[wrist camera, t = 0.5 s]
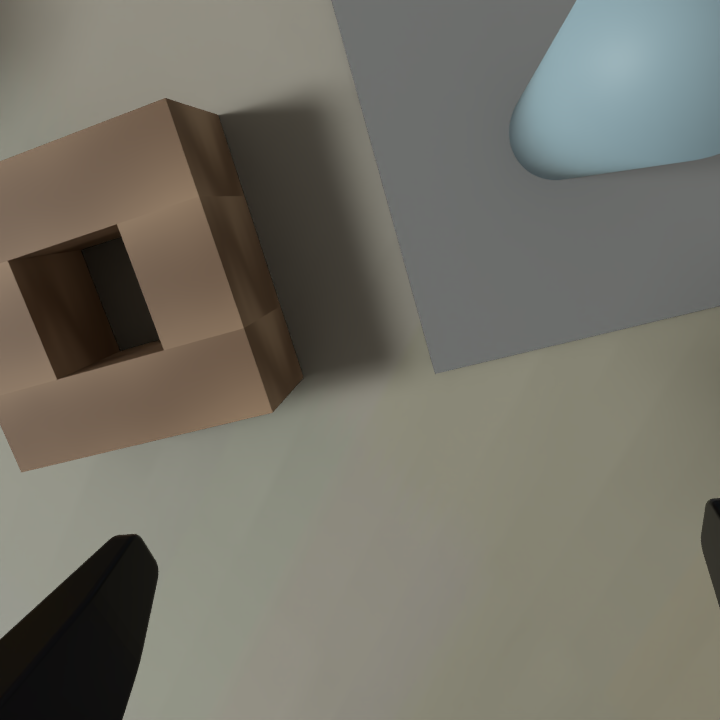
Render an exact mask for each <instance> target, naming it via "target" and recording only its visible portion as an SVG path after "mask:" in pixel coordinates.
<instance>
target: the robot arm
mask: <svg viewBox="0 0 720 720" xmlns="http://www.w3.org/2000/svg"><path fill="white" fill-rule="evenodd" d="M701 545H702V550H703V554H704V557H705V561H706V564H707V567H708V571H709V574H710V577H711V580H712V584H713V587H714V590H715V594H716V597H717V600H718V604H719V607H720V498H714V499H710V500H708V502H707V503H706V506H705V513H704V519H703V526H702V532H701ZM157 580H158V565H157V562H156V560H155V559H154V557H153V556H152V554H151V552H150V551H149V549H148V548H147V546H146V544H145V543H144V541H143V539H142V538H141V537H140V536H138V535H137V534H127V535H117V536H114V537H112V538H111V539H110V540H108V541H107V542H106V543H105V544H104V545H103V546H102V547H101V548H100V549H99V550H98V551H96V552H95V553H94V554H93V555H92V556H91V557H90V558H89V559H88V560H87V561H85V562H84V563H83V564H82V565H81V566H80V567H79V568H78V569H77V570H76V571H75V572H73V573H72V574H71V575H70V576H69V577H68V578H67V579H66V580H65V581H64V582H62V583H61V584H60V585H59V586H58V587H57V588H56V589H55V590H54V591H53V592H52V593H50V594H49V595H48V596H47V597H46V598H45V599H44V600H43V601H42V602H41V603H40V604H38V605H37V606H36V607H35V608H34V609H33V610H32V611H31V612H30V613H29V614H27V615H26V616H25V617H24V618H23V619H22V620H21V621H20V622H19V623H18V624H17V625H15V626H14V627H13V628H12V629H11V630H10V631H9V632H8V633H7V634H6V635H4V636H3V637H2V638H1V639H0V720H122V719H123V716H124V713H125V709H126V706H127V703H128V700H129V697H130V693H131V690H132V687H133V684H134V681H135V677H136V674H137V671H138V667H139V664H140V659H141V655H142V651H143V647H144V642H145V637H146V632H147V628H148V623H149V618H150V613H151V609H152V604H153V599H154V594H155V590H156V585H157Z"/></svg>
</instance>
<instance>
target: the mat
mask: <svg viewBox="0 0 720 720" xmlns="http://www.w3.org/2000/svg"><path fill="white" fill-rule="evenodd" d="M331 1H332V4H333V8H334V11H335V15H336V19H337V22H338V26H339V29H340V33H341V37H342V40H343V44H344V47H345V51H346V55H347V58H348V62H349V65H350V69H351V73H352V76H353V80H354V83H355V87H356V91H357V94H358V98H359V101H360V105H361V109H362V112H363V116H364V119H365V123H366V127H367V130H368V134H369V137H370V141H371V145H372V148H373V152H374V155H375V159H376V163H377V166H378V170H379V173H380V177H381V181H382V184H383V188H384V191H385V195H386V199H387V202H388V206H389V209H390V213H391V217H392V220H393V224H394V227H395V231H396V235H397V238H398V242H399V245H400V249H401V253H402V256H403V260H404V263H405V267H406V271H407V274H408V278H409V281H410V285H411V289H412V292H413V296H414V299H415V303H416V307H417V310H418V314H419V317H420V321H421V325H422V328H423V332H424V335H425V339H426V343H427V346H428V350H429V354H430V357H431V361H432V364H433V368H434V372H435V374H436V373H440V372H445V371H449V370H453V369H457V368H461V367H466V366H470V365H474V364H478V363H482V362H487V361H491V360H495V359H499V358H503V357H508V356H512V355H516V354H520V353H524V352H529V351H533V350H537V349H541V348H545V347H550V346H554V345H558V344H562V343H566V342H571V341H575V340H579V339H583V338H587V337H592V336H596V335H600V334H604V333H608V332H612V331H617V330H621V329H625V328H629V327H633V326H638V325H642V324H646V323H650V322H654V321H659V320H663V319H667V318H671V317H675V316H680V315H684V314H688V313H692V312H696V311H701V310H705V309H709V308H713V307H717V306H720V154H717V155H714V156H711V157H707V158H703V159H698V160H693V161H687V162H680V163H673V164H666V165H659V166H652V167H646V168H639V169H632V170H625V171H618V172H611V173H604V174H598V175H591V176H584V177H577V178H570V179H563V180H548V179H543V178H540V177H537V176H535V175H533V174H531V173H530V172H528V171H527V170H526V169H525V168H524V167H522V165H521V164H520V163H519V162H518V160H517V159H516V157H515V155H514V153H513V151H512V148H511V145H510V139H509V125H510V120H511V116H512V113H513V110H514V108H515V106H516V104H517V103H518V101H519V99H520V97H521V96H522V94H523V92H524V91H525V89H526V87H527V85H528V84H529V82H530V80H531V78H532V77H533V75H534V73H535V71H536V70H537V68H538V66H539V65H540V63H541V61H542V59H543V58H544V56H545V54H546V52H547V51H548V49H549V47H550V45H551V44H552V42H553V40H554V39H555V37H556V35H557V33H558V32H559V30H560V28H561V26H562V25H563V23H564V21H565V19H566V18H567V16H568V14H569V13H570V11H571V9H572V7H573V6H574V4H575V2H576V0H331Z"/></svg>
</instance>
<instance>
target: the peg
mask: <svg viewBox="0 0 720 720" xmlns="http://www.w3.org/2000/svg"><path fill="white" fill-rule="evenodd" d="M509 139H510V145H511V148H512V151H513V153H514V155H515V157H516V159H517V160H518V162H519V163H520V164H521V165H522V167H524V168H525V169H526V170H527V171H528V172H530V173H531V174H533V175H535V176H537V177H540V178H543V179H548V180H563V179H570V178H577V177H584V176H591V175H598V174H604V173H611V172H618V171H625V170H632V169H639V168H646V167H652V166H659V165H666V164H673V163H680V162H687V161H693V160H698V159H703V158H707V157H711V156H714V155H717V154H720V0H576V2H575V4H574V6H573V7H572V9H571V11H570V13H569V14H568V16H567V18H566V19H565V21H564V23H563V25H562V26H561V28H560V30H559V32H558V33H557V35H556V37H555V39H554V40H553V42H552V44H551V45H550V47H549V49H548V51H547V52H546V54H545V56H544V58H543V59H542V61H541V63H540V65H539V66H538V68H537V70H536V71H535V73H534V75H533V77H532V78H531V80H530V82H529V84H528V85H527V87H526V89H525V91H524V92H523V94H522V96H521V97H520V99H519V101H518V103H517V104H516V106H515V108H514V110H513V113H512V116H511V120H510V125H509Z"/></svg>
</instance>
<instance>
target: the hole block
mask: <svg viewBox="0 0 720 720" xmlns="http://www.w3.org/2000/svg"><path fill="white" fill-rule="evenodd" d="M119 237H122V239H123V242H124V244H125V247H126V250H127V253H128V255H129V258H130V261H131V263H132V266H133V269H134V271H135V274H136V277H137V279H138V282H139V285H140V287H141V290H142V293H143V295H144V298H145V301H146V303H147V306H148V309H149V312H150V314H151V317H152V320H153V322H154V325H155V328H156V330H157V333H158V336H159V338H160V340H158V341H154V342H151V343H147V344H144V345H140V346H136V347H133V348H129V349H126V350H122V351H120V350H119V348H118V345H117V342H116V340H115V337H114V335H113V332H112V330H111V327H110V324H109V322H108V319H107V317H106V314H105V312H104V309H103V306H102V304H101V301H100V299H99V296H98V294H97V291H96V288H95V286H94V283H93V281H92V278H91V276H90V273H89V270H88V268H87V265H86V263H85V260H84V258H83V255H82V252H81V250H83V249H86V248H89V247H92V246H95V245H98V244H101V243H104V242H107V241H110V240H113V239H116V238H119ZM302 379H303V374H302V371H301V368H300V365H299V362H298V359H297V356H296V353H295V350H294V346H293V343H292V340H291V337H290V334H289V331H288V328H287V325H286V322H285V319H284V316H283V313H282V310H281V307H280V303H279V300H278V297H277V294H276V291H275V288H274V285H273V282H272V279H271V276H270V273H269V270H268V267H267V264H266V261H265V257H264V254H263V251H262V248H261V245H260V242H259V239H258V236H257V233H256V230H255V227H254V224H253V221H252V218H251V214H250V211H249V208H248V205H247V202H246V199H245V196H244V193H243V190H242V187H241V184H240V181H239V178H238V175H237V172H236V168H235V165H234V162H233V159H232V156H231V153H230V150H229V147H228V144H227V141H226V138H225V135H224V132H223V129H222V125H221V122H220V119H219V116H218V115H217V114H214V113H210V112H207V111H204V110H201V109H198V108H195V107H192V106H189V105H185V104H182V103H179V102H176V101H173V100H170V99H167V98H164V99H162V100H159V101H156V102H154V103H151V104H149V105H146V106H143V107H141V108H138V109H136V110H133V111H130V112H128V113H125V114H122V115H120V116H117V117H115V118H112V119H109V120H107V121H104V122H102V123H99V124H96V125H94V126H91V127H89V128H86V129H83V130H81V131H78V132H75V133H73V134H70V135H68V136H65V137H62V138H60V139H57V140H55V141H52V142H49V143H47V144H44V145H42V146H39V147H36V148H34V149H31V150H28V151H26V152H23V153H21V154H18V155H15V156H13V157H10V158H8V159H5V160H2V161H0V425H1V427H2V430H3V432H4V434H5V436H6V439H7V441H8V443H9V445H10V448H11V450H12V452H13V454H14V457H15V459H16V461H17V463H18V466H19V468H20V470H21V472H25V471H29V470H33V469H38V468H42V467H46V466H50V465H54V464H59V463H63V462H67V461H71V460H75V459H80V458H84V457H88V456H92V455H96V454H101V453H105V452H109V451H113V450H117V449H122V448H126V447H130V446H134V445H138V444H143V443H147V442H151V441H155V440H159V439H164V438H168V437H172V436H176V435H180V434H185V433H189V432H193V431H197V430H201V429H206V428H210V427H214V426H218V425H222V424H227V423H231V422H235V421H239V420H243V419H248V418H252V417H256V416H260V415H264V414H269V413H273V412H274V410H275V409H276V408H277V407H278V406H279V405H280V404H281V403H282V401H283V400H284V399H285V398H286V397H287V396H288V395H289V393H290V392H291V391H292V390H293V389H294V388H295V387H296V385H297V384H298V383H299V382H300V381H301V380H302Z"/></svg>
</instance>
